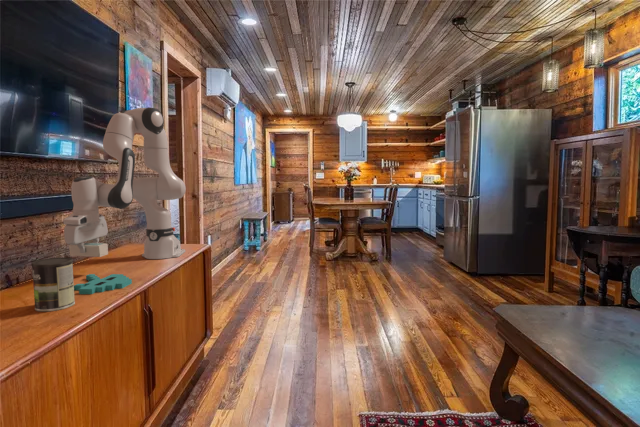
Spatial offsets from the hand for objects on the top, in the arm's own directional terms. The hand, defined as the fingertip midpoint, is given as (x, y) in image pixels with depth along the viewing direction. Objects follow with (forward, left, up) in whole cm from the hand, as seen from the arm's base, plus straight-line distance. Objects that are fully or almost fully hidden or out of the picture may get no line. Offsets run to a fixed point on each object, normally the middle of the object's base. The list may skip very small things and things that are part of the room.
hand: (89, 250), depth 156 cm
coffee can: (+38, +16, -10) cm, 43 cm away
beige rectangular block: (0, 0, -2) cm, 2 cm away
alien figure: (+16, +15, -10) cm, 24 cm away
